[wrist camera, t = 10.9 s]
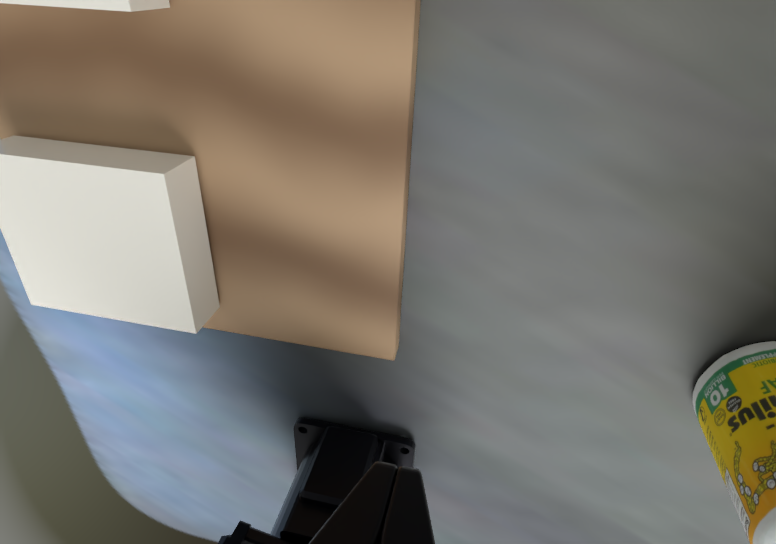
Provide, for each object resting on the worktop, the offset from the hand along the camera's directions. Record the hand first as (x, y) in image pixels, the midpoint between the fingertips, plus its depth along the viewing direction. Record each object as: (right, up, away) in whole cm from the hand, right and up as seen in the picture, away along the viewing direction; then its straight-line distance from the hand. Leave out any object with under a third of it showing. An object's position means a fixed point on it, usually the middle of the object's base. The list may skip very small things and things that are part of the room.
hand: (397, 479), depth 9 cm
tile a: (-8, +5, +11) cm, 14 cm away
